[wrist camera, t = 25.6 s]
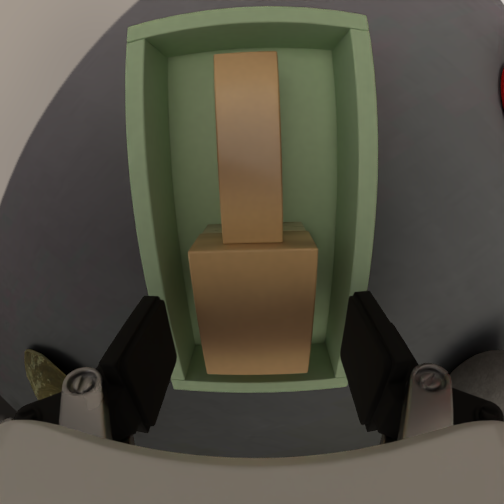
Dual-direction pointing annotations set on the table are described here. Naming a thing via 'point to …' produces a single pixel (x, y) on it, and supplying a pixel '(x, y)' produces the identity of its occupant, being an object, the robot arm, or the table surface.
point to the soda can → (502, 88)
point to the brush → (252, 235)
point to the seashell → (43, 374)
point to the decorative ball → (482, 376)
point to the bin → (293, 164)
